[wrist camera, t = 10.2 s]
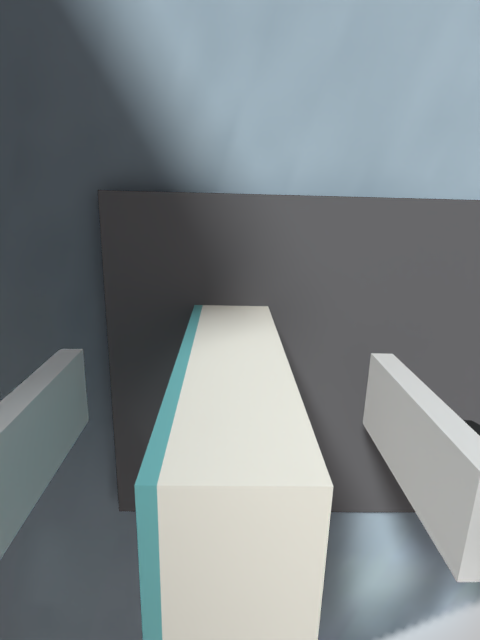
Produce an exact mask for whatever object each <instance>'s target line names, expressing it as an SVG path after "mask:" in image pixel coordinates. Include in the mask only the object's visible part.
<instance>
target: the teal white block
mask: <svg viewBox="0 0 480 640" xmlns="http://www.w3.org/2000/svg"><path fill="white" fill-rule="evenodd" d="M134 486H135V505H136V524H137V542H138V561H139V580H140V599H141V617H142V636H143V640H318V632H319V622H320V613H321V603H322V593H323V584H324V574H325V564H326V554H327V545H328V535H329V525H330V515H331V506H332V496H333V484H332V481H331V478H330V476H329V473H328V470H327V467H326V465H325V462H324V459H323V456H322V453H321V451H320V448H319V445H318V442H317V440H316V437H315V434H314V431H313V429H312V426H311V423H310V420H309V418H308V415H307V412H306V409H305V407H304V404H303V401H302V398H301V396H300V393H299V390H298V387H297V384H296V382H295V379H294V376H293V373H292V371H291V368H290V365H289V362H288V360H287V357H286V354H285V351H284V349H283V346H282V343H281V340H280V338H279V335H278V332H277V329H276V326H275V324H274V321H273V318H272V315H271V313H270V310H269V307H268V306H224V305H194V308H193V311H192V314H191V317H190V320H189V323H188V326H187V329H186V332H185V335H184V338H183V341H182V344H181V347H180V350H179V353H178V356H177V359H176V362H175V365H174V368H173V371H172V374H171V377H170V380H169V383H168V386H167V389H166V392H165V395H164V398H163V401H162V404H161V407H160V410H159V413H158V416H157V419H156V422H155V425H154V428H153V431H152V434H151V437H150V440H149V443H148V446H147V449H146V452H145V455H144V458H143V461H142V464H141V467H140V470H139V473H138V476H137V479H136V482H135V485H134Z"/></svg>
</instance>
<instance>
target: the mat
mask: <svg viewBox="0 0 480 640" xmlns="http://www.w3.org/2000/svg"><path fill="white" fill-rule="evenodd" d="M98 201H99V216H100V231H101V246H102V261H103V276H104V291H105V306H106V321H107V336H108V351H109V366H110V381H111V396H112V411H113V425H114V440H115V455H116V470H117V485H118V500H119V511H136V505H135V486H134V485H135V482H136V479H137V476H138V473H139V470H140V467H141V464H142V461H143V458H144V455H145V452H146V449H147V446H148V443H149V440H150V437H151V434H152V431H153V428H154V425H155V422H156V419H157V416H158V413H159V410H160V407H161V404H162V401H163V398H164V395H165V392H166V389H167V386H168V383H169V380H170V377H171V374H172V371H173V368H174V365H175V362H176V359H177V356H178V353H179V350H180V347H181V344H182V341H183V338H184V335H185V332H186V329H187V326H188V323H189V320H190V317H191V314H192V311H193V308H194V305H224V306H268V307H269V310H270V313H271V315H272V318H273V321H274V324H275V326H276V329H277V332H278V335H279V338H280V340H281V343H282V346H283V349H284V351H285V354H286V357H287V360H288V362H289V365H290V368H291V371H292V373H293V376H294V379H295V382H296V384H297V387H298V390H299V393H300V396H301V398H302V401H303V404H304V407H305V409H306V412H307V415H308V418H309V420H310V423H311V426H312V429H313V431H314V434H315V437H316V440H317V442H318V445H319V448H320V451H321V453H322V456H323V459H324V462H325V465H326V467H327V470H328V473H329V476H330V478H331V481H332V484H333V496H332V506H331V512H415V510H414V509H413V507H412V505H411V504H410V502H409V500H408V499H407V497H406V495H405V494H404V492H403V490H402V489H401V487H400V485H399V484H398V482H397V480H396V479H395V477H394V475H393V474H392V472H391V470H390V468H389V467H388V465H387V463H386V462H385V460H384V458H383V457H382V455H381V453H380V452H379V450H378V448H377V447H376V445H375V443H374V442H373V440H372V438H371V437H370V435H369V433H368V431H367V430H366V428H365V426H364V425H363V416H364V408H365V400H366V391H367V383H368V375H369V366H370V358H371V353H382V354H393V355H395V356H396V357H397V358H398V359H399V360H400V361H401V362H402V363H403V364H404V365H405V366H406V367H407V368H408V369H409V370H410V371H412V372H413V373H414V374H415V375H416V376H417V377H418V378H419V379H420V380H421V381H422V382H423V383H424V384H425V385H426V386H427V387H428V388H430V389H431V390H432V391H433V392H434V393H435V394H436V395H437V396H438V397H439V398H440V399H441V400H442V401H443V402H444V403H445V404H446V405H448V406H449V407H450V408H451V409H452V410H453V411H454V412H455V413H456V414H457V415H458V416H459V417H460V418H461V419H462V420H472V421H474V422H476V423H477V424H479V425H480V200H453V199H415V198H377V197H339V196H300V195H262V194H224V193H186V192H148V191H110V190H98Z"/></svg>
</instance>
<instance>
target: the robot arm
mask: <svg viewBox="0 0 480 640" xmlns="http://www.w3.org/2000/svg"><path fill="white" fill-rule="evenodd" d="M88 421H89V414H88V403H87V391H86V379H85V367H84V356H83V349H59V350H58V351H57V352H56V353H55V354H54V355H53V356H52V357H50V358H49V359H48V360H47V361H46V362H45V363H44V364H42V365H41V366H40V367H39V368H38V369H37V370H36V371H34V372H33V373H32V374H31V375H30V376H29V377H28V378H27V379H25V380H24V381H23V382H22V383H21V384H20V385H19V386H17V387H16V388H15V389H14V390H13V391H12V392H11V393H9V394H8V395H7V396H6V397H5V398H4V399H3V400H2V401H0V560H1V558H2V557H3V555H4V553H5V552H6V550H7V549H8V547H9V546H10V544H11V542H12V541H13V539H14V538H15V536H16V535H17V533H18V531H19V530H20V528H21V527H22V525H23V524H24V522H25V520H26V519H27V517H28V516H29V514H30V513H31V511H32V509H33V508H34V506H35V505H36V503H37V502H38V500H39V498H40V497H41V495H42V494H43V492H44V491H45V489H46V487H47V486H48V484H49V483H50V481H51V480H52V478H53V476H54V475H55V473H56V472H57V470H58V469H59V467H60V465H61V464H62V462H63V461H64V459H65V458H66V456H67V454H68V453H69V451H70V450H71V448H72V447H73V445H74V443H75V442H76V440H77V439H78V437H79V436H80V434H81V432H82V431H83V429H84V428H85V426H86V425H87V423H88ZM363 425H364V426H365V428H366V430H367V431H368V433H369V435H370V437H371V438H372V440H373V442H374V443H375V445H376V447H377V448H378V450H379V452H380V453H381V455H382V457H383V458H384V460H385V462H386V463H387V465H388V467H389V468H390V470H391V472H392V474H393V475H394V477H395V479H396V480H397V482H398V484H399V485H400V487H401V489H402V490H403V492H404V494H405V495H406V497H407V499H408V500H409V502H410V504H411V505H412V507H413V509H414V510H415V512H416V514H417V516H418V517H419V519H420V521H421V522H422V524H423V526H424V527H425V529H426V531H427V532H428V534H429V536H430V537H431V539H432V541H433V542H434V544H435V546H436V547H437V549H438V551H439V553H440V554H441V556H442V558H443V559H444V561H445V563H446V564H447V566H448V568H449V569H450V571H451V573H452V574H453V576H454V578H455V579H456V581H457V582H480V425H479V424H477V423H476V422H474V421H472V420H462V419H461V418H460V417H459V416H458V415H457V414H456V413H455V412H454V411H453V410H452V409H451V408H450V407H449V406H448V405H446V404H445V403H444V402H443V401H442V400H441V399H440V398H439V397H438V396H437V395H436V394H435V393H434V392H433V391H432V390H431V389H430V388H428V387H427V386H426V385H425V384H424V383H423V382H422V381H421V380H420V379H419V378H418V377H417V376H416V375H415V374H414V373H413V372H412V371H410V370H409V369H408V368H407V367H406V366H405V365H404V364H403V363H402V362H401V361H400V360H399V359H398V358H397V357H396V356H395V355H393V354H382V353H371V358H370V366H369V375H368V383H367V391H366V400H365V408H364V416H363Z"/></svg>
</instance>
